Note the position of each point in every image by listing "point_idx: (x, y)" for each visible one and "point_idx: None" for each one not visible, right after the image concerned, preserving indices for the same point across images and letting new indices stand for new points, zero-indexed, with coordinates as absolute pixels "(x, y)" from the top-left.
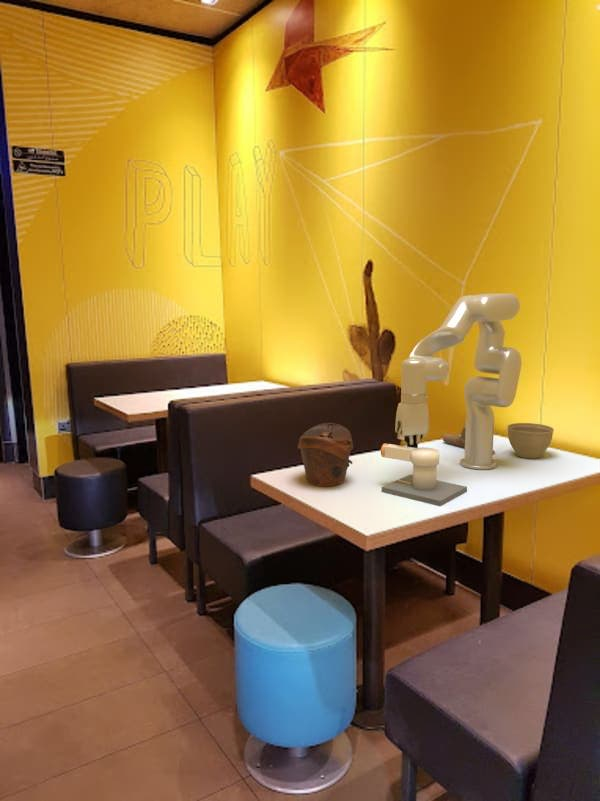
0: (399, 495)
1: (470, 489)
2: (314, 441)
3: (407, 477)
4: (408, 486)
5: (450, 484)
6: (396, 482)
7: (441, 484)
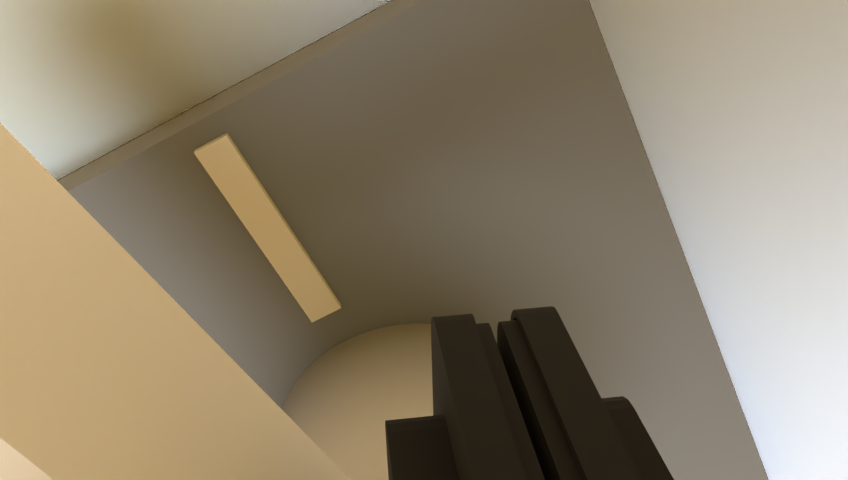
0: None
1: (832, 459)
2: None
3: (428, 53)
4: None
5: (707, 443)
6: (159, 198)
7: None
